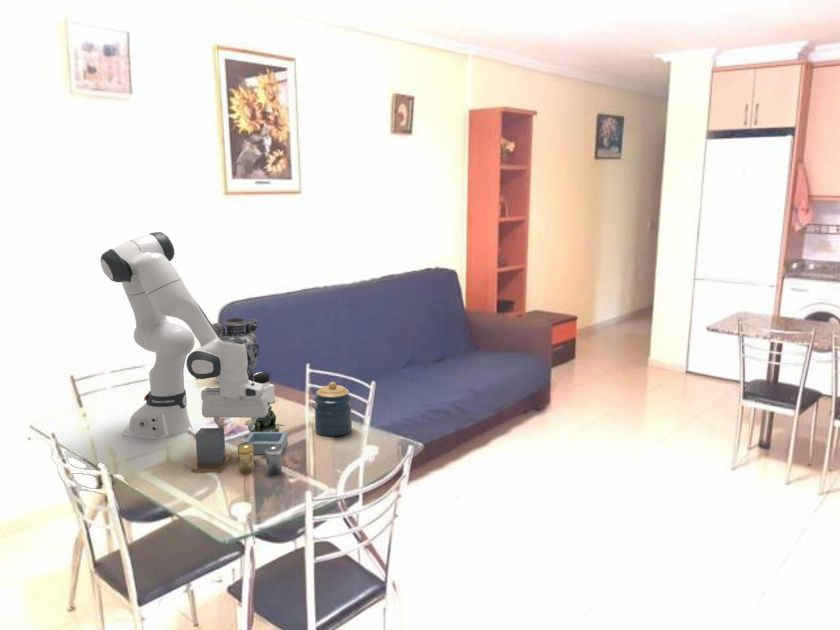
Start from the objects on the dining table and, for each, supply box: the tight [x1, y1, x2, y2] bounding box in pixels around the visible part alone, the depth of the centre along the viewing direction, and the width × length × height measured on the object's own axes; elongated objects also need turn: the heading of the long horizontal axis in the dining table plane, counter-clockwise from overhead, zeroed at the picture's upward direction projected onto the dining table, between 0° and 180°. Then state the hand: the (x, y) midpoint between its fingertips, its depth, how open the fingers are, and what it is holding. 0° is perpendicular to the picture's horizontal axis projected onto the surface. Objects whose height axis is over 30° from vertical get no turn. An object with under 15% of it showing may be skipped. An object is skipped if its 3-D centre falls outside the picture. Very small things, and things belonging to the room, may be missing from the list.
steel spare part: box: [265, 444, 283, 476], centre depth 188 cm, size 5×5×8 cm
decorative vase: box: [211, 318, 260, 381], centre depth 275 cm, size 21×19×28 cm
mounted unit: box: [190, 427, 233, 473], centre depth 193 cm, size 9×11×11 cm
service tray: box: [243, 431, 289, 455], centre depth 206 cm, size 12×10×4 cm
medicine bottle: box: [252, 371, 276, 405], centre depth 250 cm, size 7×7×12 cm
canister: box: [313, 381, 353, 437], centre depth 221 cm, size 13×13×18 cm
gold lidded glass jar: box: [237, 441, 255, 474], centre depth 189 cm, size 5×5×8 cm
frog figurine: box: [244, 402, 285, 433], centre depth 219 cm, size 18×18×12 cm
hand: (236, 429), depth 200 cm, fingers open, 8 cm apart
